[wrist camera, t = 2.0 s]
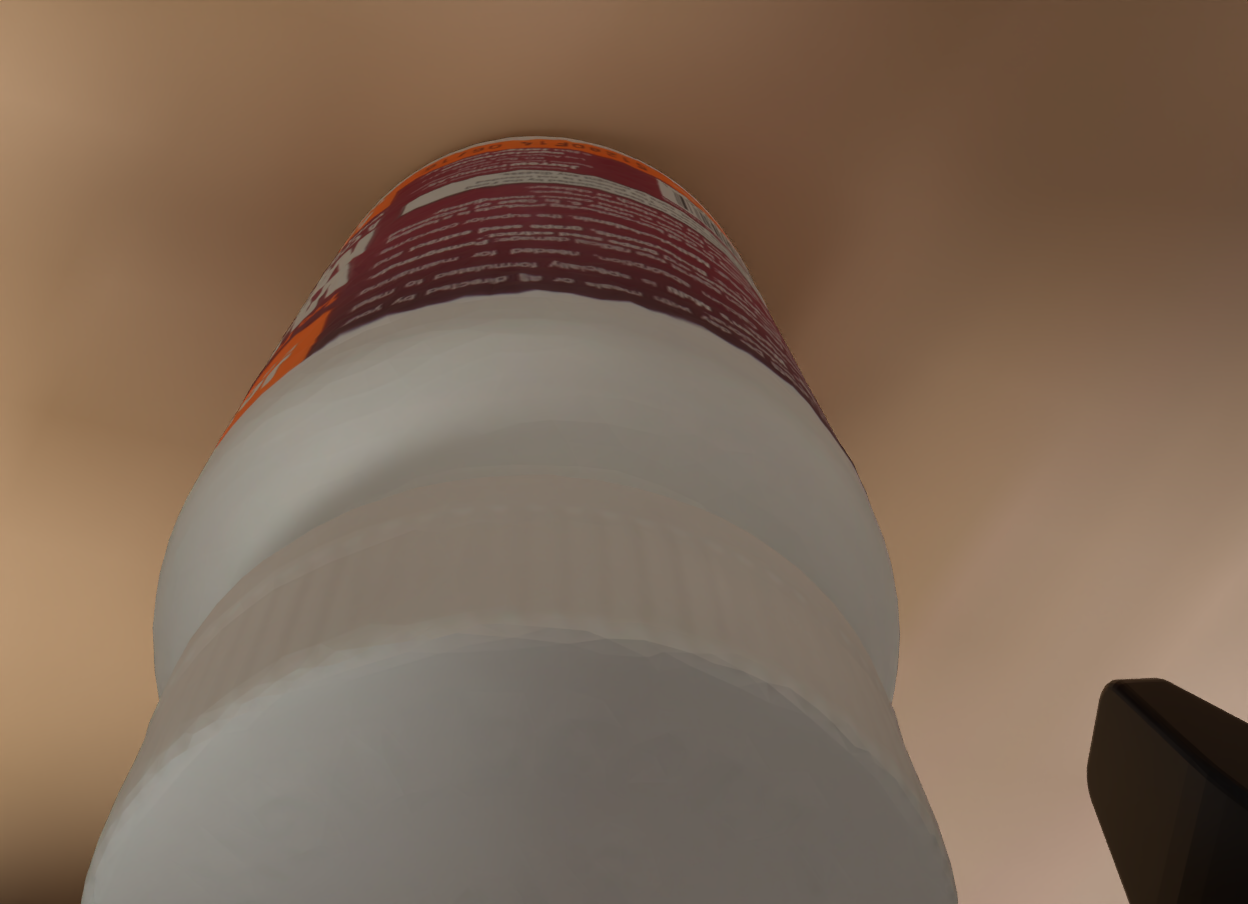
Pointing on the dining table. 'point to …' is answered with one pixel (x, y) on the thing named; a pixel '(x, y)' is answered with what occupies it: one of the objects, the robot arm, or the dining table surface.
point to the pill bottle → (527, 584)
